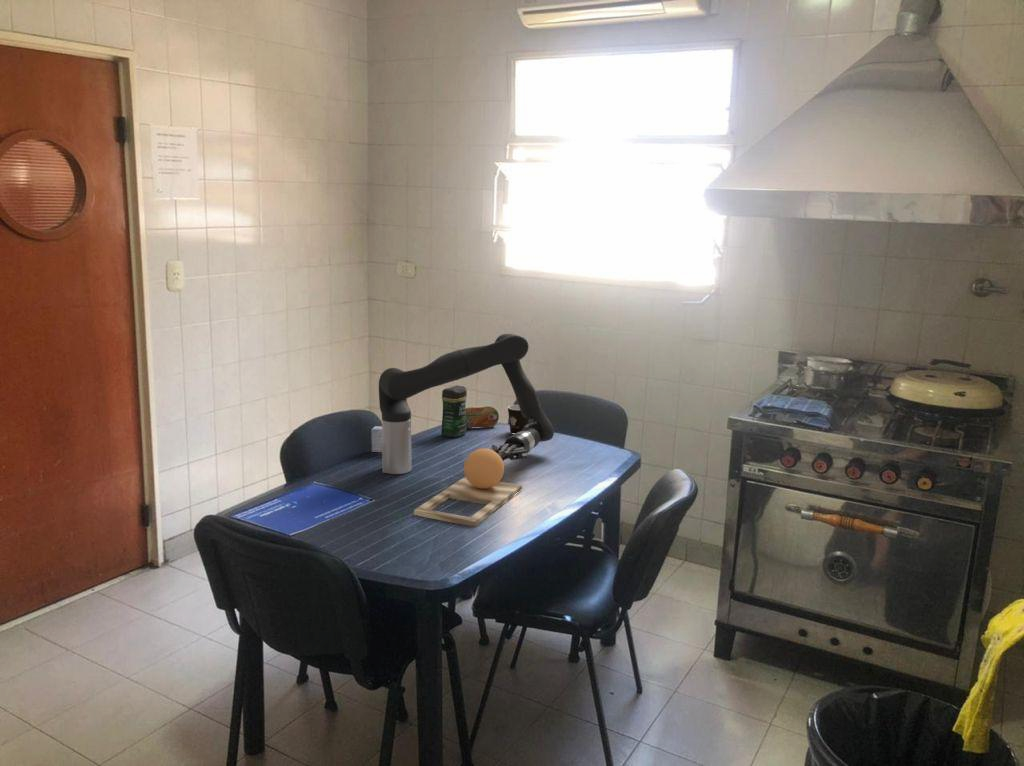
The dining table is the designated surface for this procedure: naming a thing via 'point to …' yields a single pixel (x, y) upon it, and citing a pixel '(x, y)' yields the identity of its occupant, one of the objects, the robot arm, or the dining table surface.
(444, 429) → the coffee jar
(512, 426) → the coffee mug
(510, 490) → the board
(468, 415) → the tin
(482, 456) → the ball
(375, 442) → the medicine box
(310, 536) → the dining table surface
